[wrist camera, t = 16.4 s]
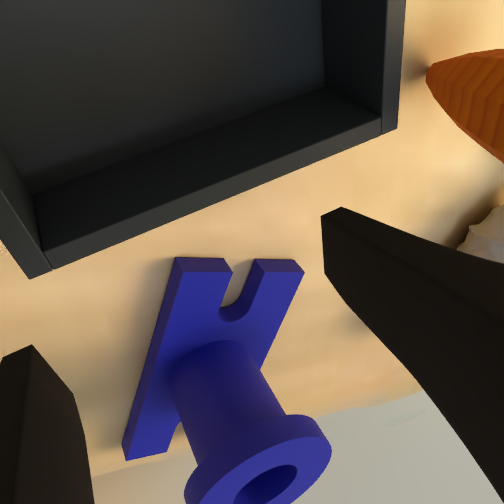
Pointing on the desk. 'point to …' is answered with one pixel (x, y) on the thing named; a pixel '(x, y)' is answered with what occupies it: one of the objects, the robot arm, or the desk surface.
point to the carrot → (473, 95)
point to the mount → (225, 387)
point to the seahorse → (486, 237)
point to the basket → (175, 108)
